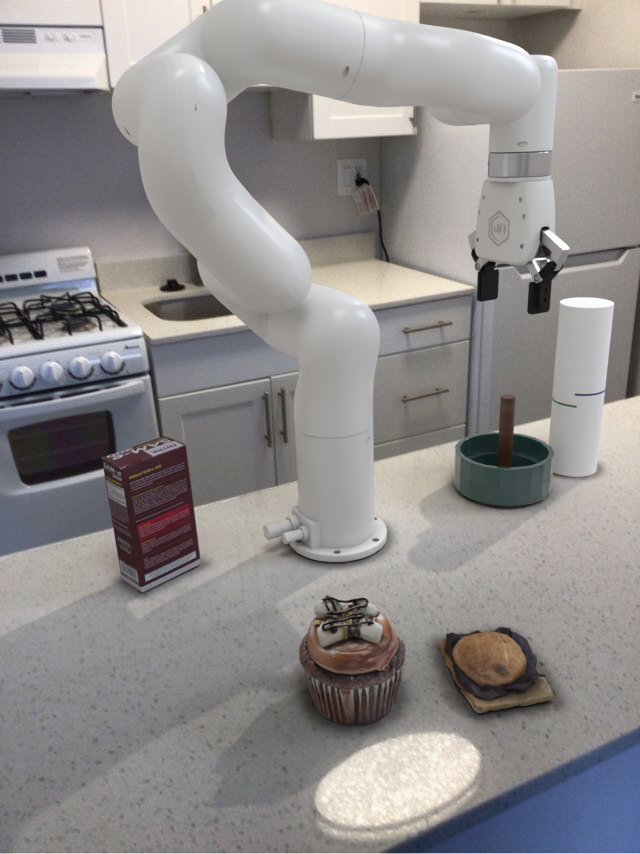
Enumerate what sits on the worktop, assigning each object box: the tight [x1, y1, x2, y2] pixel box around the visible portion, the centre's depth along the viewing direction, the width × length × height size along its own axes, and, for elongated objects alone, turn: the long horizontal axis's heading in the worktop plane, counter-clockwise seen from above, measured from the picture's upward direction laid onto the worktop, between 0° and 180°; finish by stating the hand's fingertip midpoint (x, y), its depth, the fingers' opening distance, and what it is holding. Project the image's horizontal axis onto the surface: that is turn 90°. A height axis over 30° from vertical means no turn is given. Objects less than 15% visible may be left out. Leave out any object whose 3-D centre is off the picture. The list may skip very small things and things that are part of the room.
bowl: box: [453, 431, 554, 508], centre depth 107 cm, size 13×13×6 cm
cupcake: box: [298, 594, 407, 726], centre depth 68 cm, size 10×10×10 cm
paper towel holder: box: [497, 393, 517, 467], centre depth 106 cm, size 4×4×13 cm
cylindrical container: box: [548, 296, 615, 478], centre depth 109 cm, size 7×7×25 cm
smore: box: [438, 626, 555, 714], centre depth 71 cm, size 11×8×4 cm
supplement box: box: [101, 435, 202, 593], centre depth 87 cm, size 9×5×16 cm, turn 134°
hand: (511, 306), depth 99 cm, fingers open, 9 cm apart
